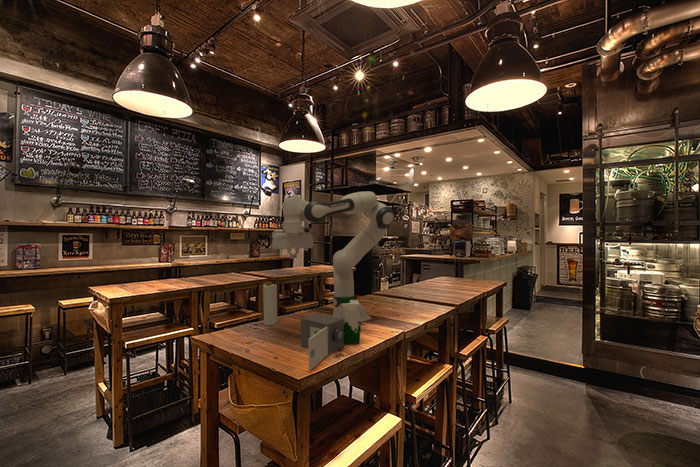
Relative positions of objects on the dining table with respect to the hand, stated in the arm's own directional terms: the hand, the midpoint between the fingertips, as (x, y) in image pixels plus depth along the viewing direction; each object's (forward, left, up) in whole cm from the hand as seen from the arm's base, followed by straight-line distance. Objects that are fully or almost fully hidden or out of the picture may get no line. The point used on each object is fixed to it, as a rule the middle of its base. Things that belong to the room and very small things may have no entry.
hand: (293, 258), depth 151 cm
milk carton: (-17, +24, -37) cm, 47 cm away
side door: (+4, +36, -37) cm, 52 cm away
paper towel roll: (+4, -24, -37) cm, 45 cm away
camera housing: (-4, +23, -37) cm, 44 cm away
